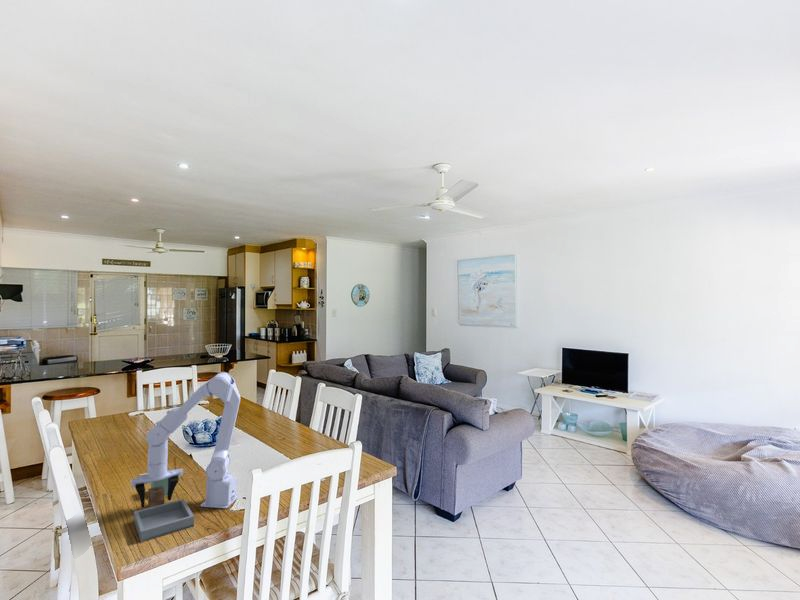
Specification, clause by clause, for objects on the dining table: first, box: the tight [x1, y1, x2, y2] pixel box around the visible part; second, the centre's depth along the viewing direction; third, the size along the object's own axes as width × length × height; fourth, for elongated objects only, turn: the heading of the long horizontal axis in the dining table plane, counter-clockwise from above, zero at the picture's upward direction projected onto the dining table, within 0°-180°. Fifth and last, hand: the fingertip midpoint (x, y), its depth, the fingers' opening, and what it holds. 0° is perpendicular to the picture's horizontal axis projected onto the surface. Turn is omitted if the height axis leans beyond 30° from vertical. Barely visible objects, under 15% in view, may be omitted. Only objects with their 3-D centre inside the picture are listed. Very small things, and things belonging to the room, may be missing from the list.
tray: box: [133, 498, 195, 543], centre depth 126 cm, size 14×14×3 cm
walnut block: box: [147, 486, 166, 508], centre depth 136 cm, size 4×4×6 cm
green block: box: [150, 479, 168, 496], centre depth 146 cm, size 6×6×8 cm
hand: (156, 502), depth 136 cm, fingers open, 7 cm apart
